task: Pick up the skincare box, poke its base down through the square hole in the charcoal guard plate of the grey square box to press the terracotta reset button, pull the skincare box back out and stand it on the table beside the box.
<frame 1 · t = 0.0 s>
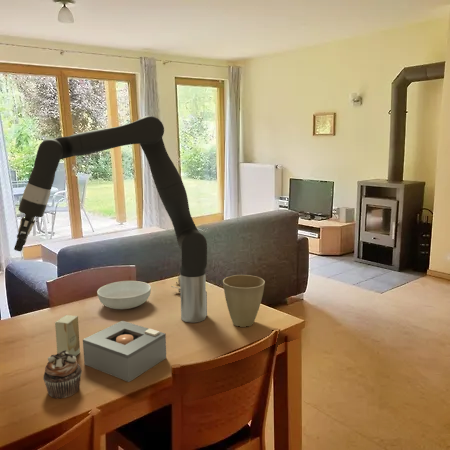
hand: (19, 247, 142), 31 cm above the table, tool tilted 20°, fingers open, 8 cm apart
cupcake: (63, 390, 119), on the table
skincare box: (69, 356, 137), on the table
reset button: (125, 344, 133), point 6 cm above the table, slide at 0.0 cm
plant pot: (243, 323, 161), on the table
serving bowl: (125, 305, 179), on the table
grey square box: (125, 361, 134), on the table
architectural model: (182, 294, 192), on the table
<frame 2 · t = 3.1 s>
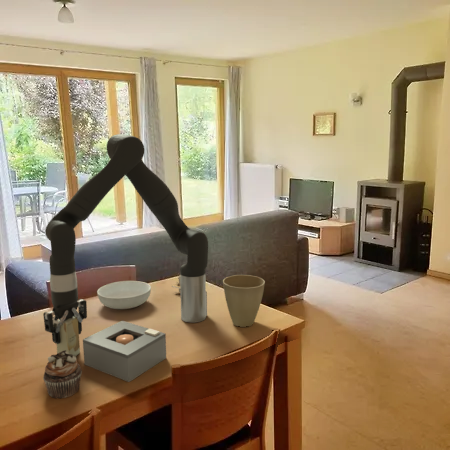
hand: (67, 338, 136), 6 cm above the table, tool pointing down, fingers closed on skincare box, 7 cm apart
skincare box: (69, 356, 137), on the table, touching gripper
everything else where it was.
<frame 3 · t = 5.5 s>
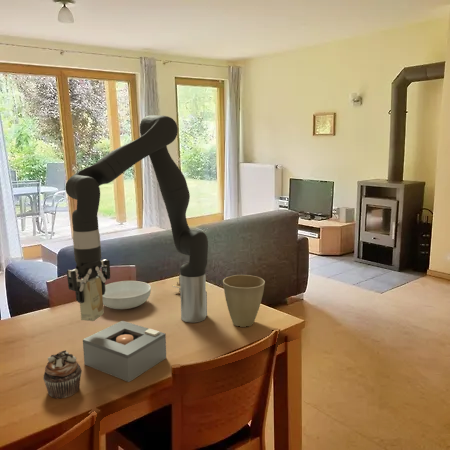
hand: (91, 298, 133), 19 cm above the table, tool pointing down, fingers closed on skincare box, 7 cm apart
skincare box: (93, 317, 134), point 13 cm above the table, touching gripper
everything else where it was.
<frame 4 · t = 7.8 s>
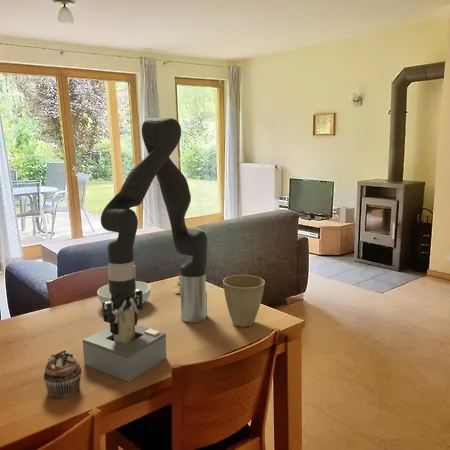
hand: (124, 329, 132), 10 cm above the table, tool pointing down, fingers closed on skincare box, 7 cm apart
skincare box: (125, 348, 133), point 4 cm above the table, touching gripper, reset button
reset button: (125, 354, 133), point 2 cm above the table, slide at 3.2 cm, touching skincare box
everything else where it was.
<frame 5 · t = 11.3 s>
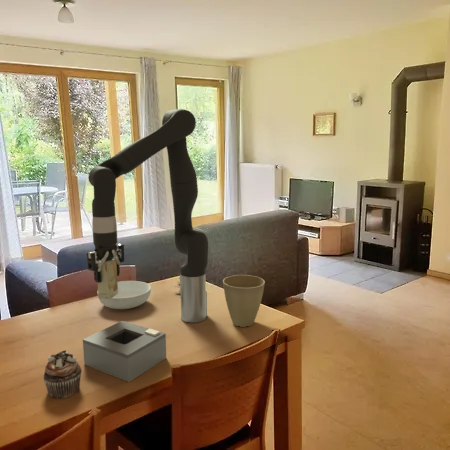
hand: (107, 278, 146), 21 cm above the table, tool pointing down, fingers closed on skincare box, 7 cm apart
skincare box: (108, 296, 147), point 14 cm above the table, touching gripper
reset button: (125, 354, 133), point 2 cm above the table, slide at 3.2 cm
everything else where it was.
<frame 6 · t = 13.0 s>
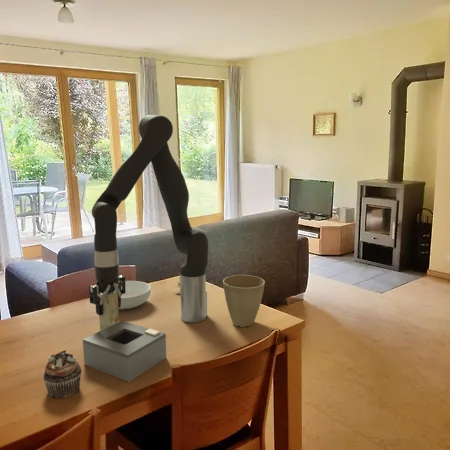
hand: (109, 310, 148), 9 cm above the table, tool pointing down, fingers closed on skincare box, 7 cm apart
skincare box: (109, 328, 149), point 3 cm above the table, touching gripper
everything else where it was.
when the fingers open (7 cm above the table, at t = 14.2 s): skincare box drops 1 cm, on the table.
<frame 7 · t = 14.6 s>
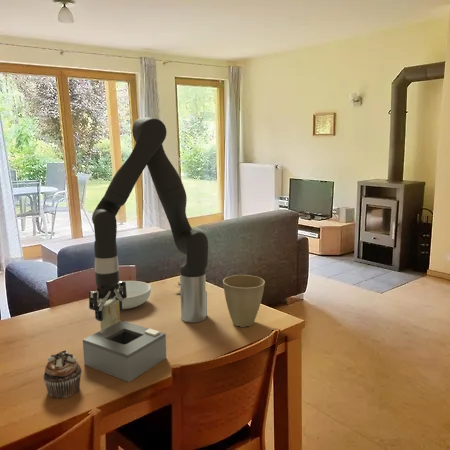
hand: (109, 316, 148), 8 cm above the table, tool pointing down, fingers open, 8 cm apart
skincare box: (111, 337, 150), on the table, touching gripper
everything else where it was.
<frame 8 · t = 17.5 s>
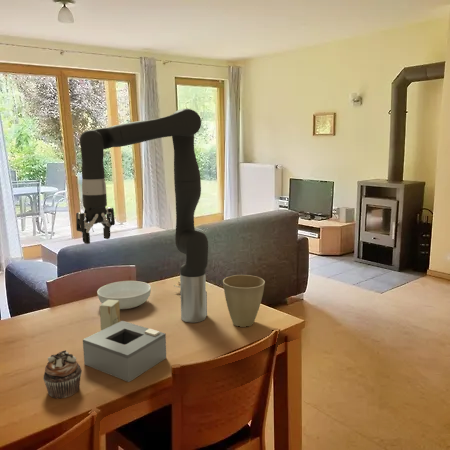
hand: (97, 241, 148), 32 cm above the table, tool pointing down, fingers open, 8 cm apart
skincare box: (111, 337, 150), on the table
at the end: reset button slide at 3.2 cm; skincare box inside the target area (0.4 cm from its centre), on the table; skincare box tilted 0° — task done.
